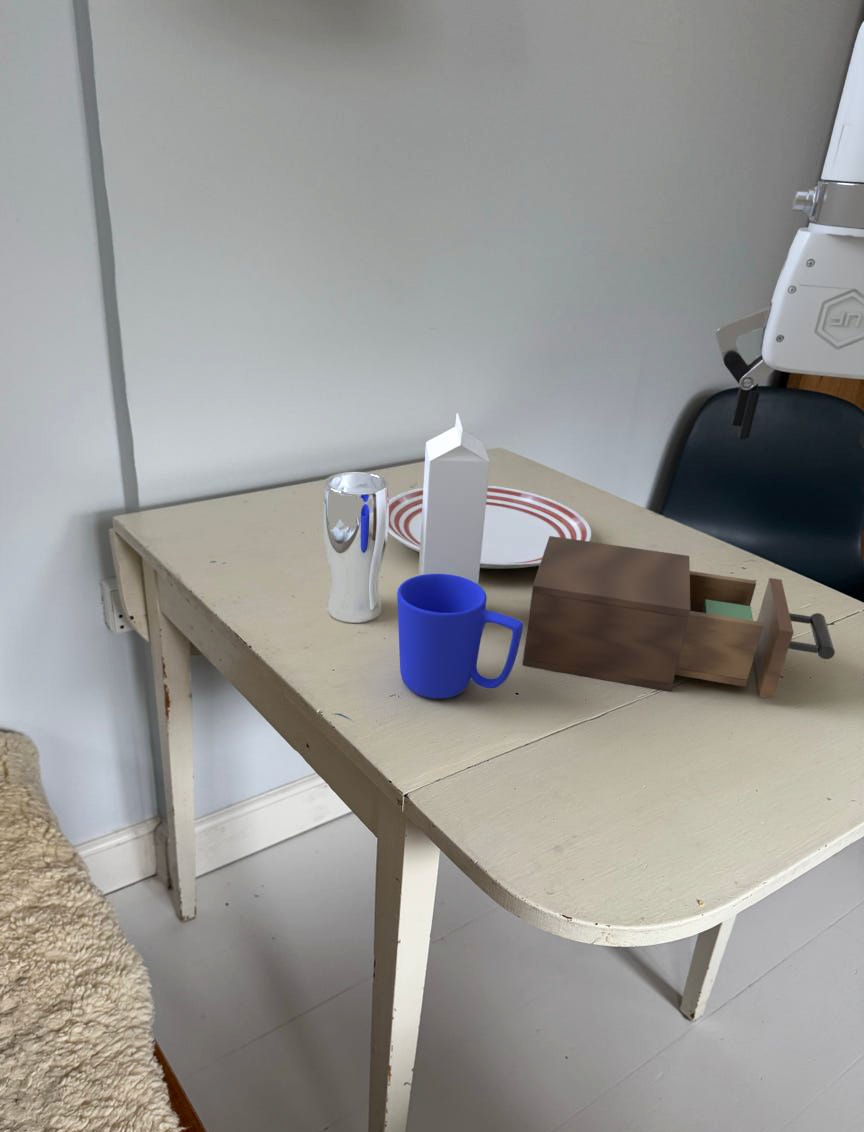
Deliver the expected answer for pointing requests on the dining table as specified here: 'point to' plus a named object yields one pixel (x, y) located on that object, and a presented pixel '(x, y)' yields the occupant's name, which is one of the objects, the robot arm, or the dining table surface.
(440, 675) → the mug
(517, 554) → the dinner plate
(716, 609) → the block
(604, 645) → the cabinet
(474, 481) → the milk
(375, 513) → the beer glass
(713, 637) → the drawer
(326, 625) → the dining table surface
